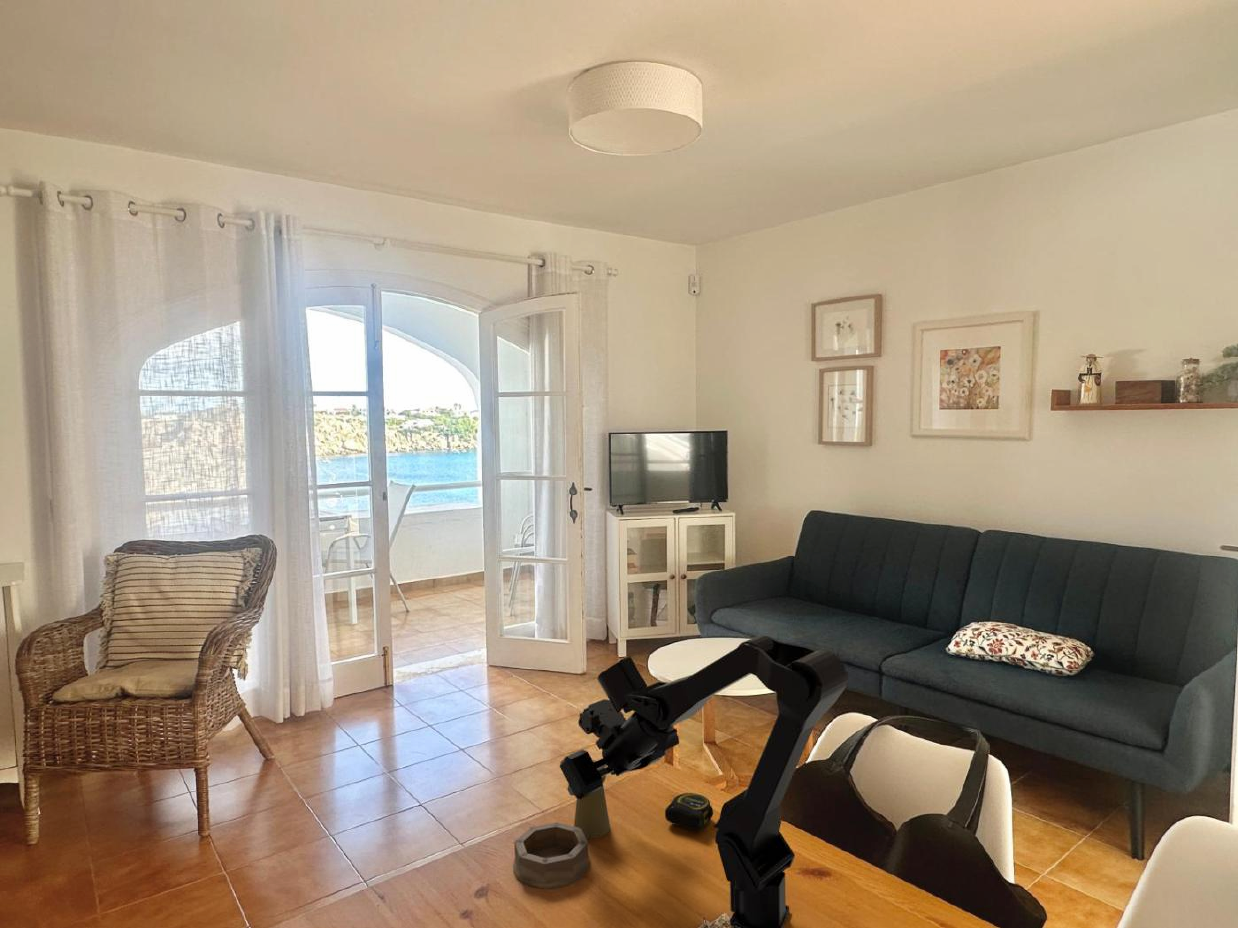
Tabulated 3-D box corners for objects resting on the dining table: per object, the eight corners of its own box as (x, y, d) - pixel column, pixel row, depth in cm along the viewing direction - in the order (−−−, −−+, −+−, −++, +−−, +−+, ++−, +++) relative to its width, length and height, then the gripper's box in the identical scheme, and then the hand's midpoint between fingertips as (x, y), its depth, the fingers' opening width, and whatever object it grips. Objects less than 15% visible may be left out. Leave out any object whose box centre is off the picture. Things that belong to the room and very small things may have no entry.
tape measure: (663, 826, 125) (662, 804, 125) (684, 808, 131) (684, 787, 130) (699, 838, 121) (698, 816, 121) (719, 819, 127) (719, 798, 126)
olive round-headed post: (605, 839, 121) (603, 773, 121) (569, 836, 123) (567, 770, 122) (613, 820, 127) (611, 756, 127) (578, 817, 128) (576, 754, 128)
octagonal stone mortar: (603, 853, 117) (602, 831, 117) (564, 896, 107) (563, 872, 107) (540, 836, 123) (540, 815, 122) (497, 875, 112) (497, 852, 112)
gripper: (651, 675, 126) (606, 721, 135) (566, 707, 113) (523, 756, 121) (688, 734, 121) (639, 778, 129) (603, 775, 108) (555, 821, 116)
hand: (590, 781), depth 124 cm, fingers open, 9 cm apart
